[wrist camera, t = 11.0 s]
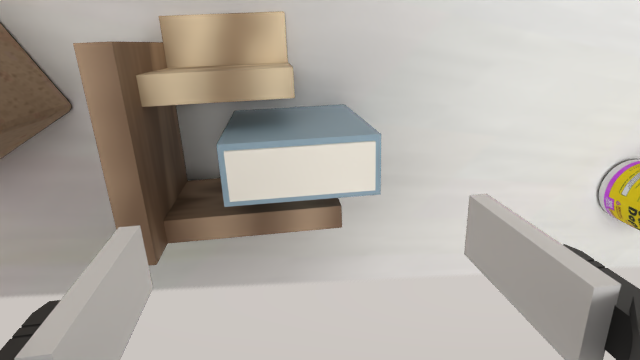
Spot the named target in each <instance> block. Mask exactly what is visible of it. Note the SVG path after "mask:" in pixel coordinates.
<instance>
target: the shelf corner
mask: <svg viewBox="0 0 640 360" xmlns="http://www.w3.org/2000/svg"><path fill="white" fill-rule="evenodd" d="M73 45H74V49H75V54H76V58H77V62H78V66H79V71H80V75H81V79H82V84H83V88H84V92H85V96H86V101H87V105H88V109H89V114H90V118H91V122H92V127H93V131H94V135H95V139H96V144H97V148H98V152H99V157H100V161H101V165H102V170H103V174H104V178H105V182H106V187H107V191H108V195H109V200H110V204H111V208H112V213H113V217H114V221H115V225H116V230H117V229H118V228H119V227H128V226H139V225H140V228H141V232H142V237H143V242H144V247H145V251H146V256H147V261H148V265H157V263H158V261H159V259H160V257H161V255H162V253H163V251H164V249H165V247H166V245H167V243H177V242H187V241H198V240H209V239H220V238H231V237H242V236H253V235H264V234H275V233H286V232H297V231H308V230H319V229H330V228H341V227H342V213H341V204H340V202H339V199H338V198H328V199H316V200H304V201H291V202H279V203H267V204H254V205H242V206H230V207H224V200H223V192H222V184H221V178H217V179H204V180H191V181H188V180H187V174H186V167H185V161H184V155H183V149H182V142H181V136H180V130H179V124H178V117H177V111H176V105H165V106H147V107H142V105H141V100H140V94H139V89H138V84H137V78H136V75H139V74H144V73H148V72H152V71H157V70H161V69H165V68H167V64H166V57H165V51H164V45H163V43H158V42H93V43H73Z"/></svg>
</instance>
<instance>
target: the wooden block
mask: <svg viewBox="0 0 640 360" xmlns="http://www.w3.org/2000/svg"><path fill="white" fill-rule="evenodd" d="M70 109H71V104H70V103H69V102H68V100H67V99H66V98H65V97H64V96H63V95H62V94H61V92H60V91H59V90H58V89H57V88H56V87H55V86H54V84H53V83H52V82H51V81H50V80H49V79H48V78H47V76H46V75H45V74H44V73H43V72H42V71H41V70H40V68H39V67H38V66H37V65H36V64H35V63H34V61H33V60H32V59H31V58H30V57H29V56H28V55H27V53H26V52H25V51H24V50H23V49H22V48H21V47H20V45H19V44H18V43H17V42H16V41H15V40H14V39H13V37H12V36H11V35H10V34H9V33H8V32H7V30H6V29H5V28H4V27H3V26H2V25H1V24H0V159H1V158H2V157H4V156H5V155H7V154H8V153H10V152H11V151H12V150H14V149H15V148H17V147H18V146H20V145H21V144H23V143H24V142H25V141H27V140H28V139H30V138H31V137H33V136H34V135H36V134H37V133H38V132H40V131H41V130H43V129H44V128H46V127H47V126H49V125H50V124H52V123H53V122H54V121H56V120H57V119H59V118H60V117H62V116H63V115H65V114H66V113H67V112H69V111H70Z"/></svg>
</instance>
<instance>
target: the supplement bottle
mask: <svg viewBox="0 0 640 360" xmlns="http://www.w3.org/2000/svg"><path fill="white" fill-rule="evenodd" d="M599 201H600V204H601V206H602V208H603V210H604V211H605V212H606V213H608V214H609V215H611V216H613V217H615V218H616V219H618V220H620V221H622V222H624V223H626V224H628V225H630V226H632V227H634V228H636V229H638V230H640V160H629V161H626V162H623V163H621V164H619V165H617V166H616V167H615V168H613V169H612V170H611V171H610V172H609V173H608V174H607V176H606V177H605V178H604V180H603V182H602V184H601V186H600V190H599Z"/></svg>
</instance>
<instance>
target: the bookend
mask: <svg viewBox="0 0 640 360" xmlns="http://www.w3.org/2000/svg"><path fill="white" fill-rule="evenodd" d="M159 20H160V27H161V33H162V39H163V45H164V51H165V57H166V64H167V68H165V69H161V70H157V71H152V72H148V73H144V74H139V75H136V78H137V84H138V89H139V94H140V100H141V105H142V107H147V106H165V105H182V104H199V103H216V102H234V101H251V100H268V99H286V98H295V94H294V78H293V67H292V66H291V65H290V64H289V63H288V61H287V45H286V30H285V15H284V12H257V13H230V14H202V15H175V16H159Z"/></svg>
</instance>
